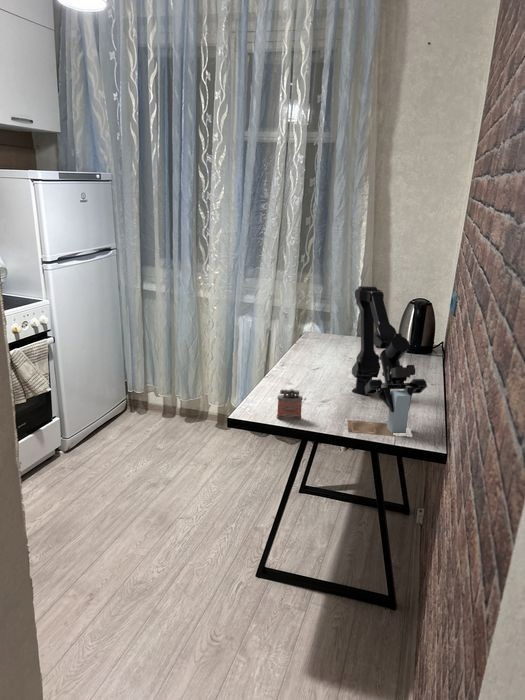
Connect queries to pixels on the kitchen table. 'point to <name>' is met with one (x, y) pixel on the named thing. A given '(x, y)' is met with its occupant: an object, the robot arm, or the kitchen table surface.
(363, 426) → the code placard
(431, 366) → the kitchen table surface
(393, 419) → the tall block
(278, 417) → the lighter
